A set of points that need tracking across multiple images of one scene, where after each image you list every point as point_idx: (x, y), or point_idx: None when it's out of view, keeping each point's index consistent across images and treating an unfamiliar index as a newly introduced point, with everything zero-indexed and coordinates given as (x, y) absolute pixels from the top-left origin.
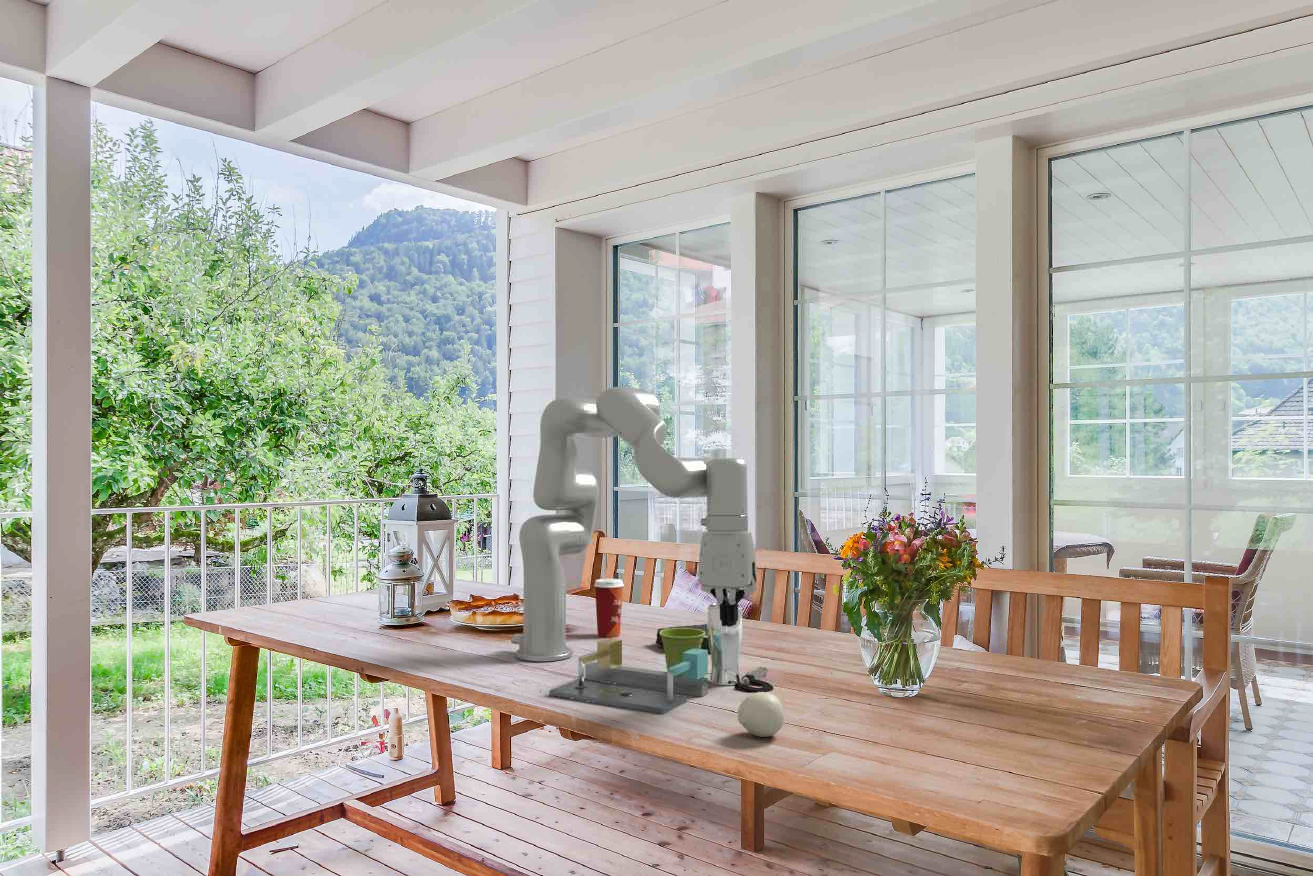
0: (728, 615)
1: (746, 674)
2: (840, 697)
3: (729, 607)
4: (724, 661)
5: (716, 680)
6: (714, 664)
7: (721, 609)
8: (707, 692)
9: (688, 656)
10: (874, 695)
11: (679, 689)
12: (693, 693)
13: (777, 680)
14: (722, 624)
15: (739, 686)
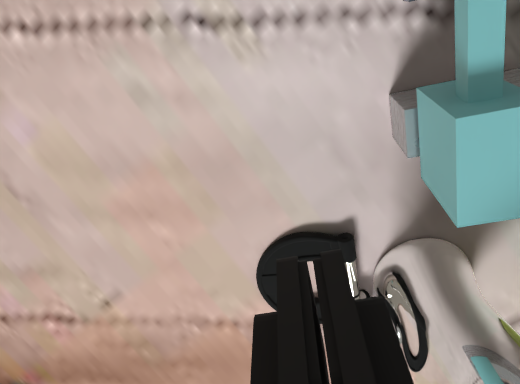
0: (285, 311)
1: None
2: (88, 326)
3: (279, 376)
4: (423, 298)
5: (429, 245)
6: (461, 283)
7: (362, 339)
8: (394, 136)
9: (505, 104)
10: (50, 377)
11: None
12: None
13: None
14: (334, 252)
15: (333, 238)
